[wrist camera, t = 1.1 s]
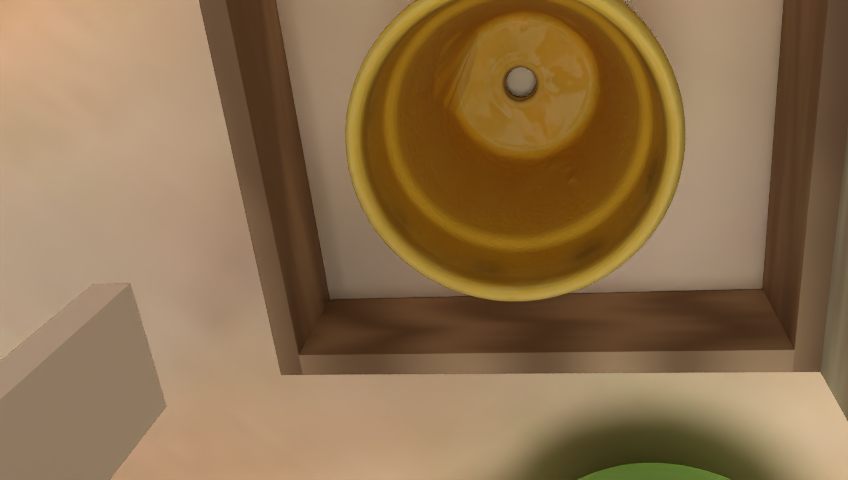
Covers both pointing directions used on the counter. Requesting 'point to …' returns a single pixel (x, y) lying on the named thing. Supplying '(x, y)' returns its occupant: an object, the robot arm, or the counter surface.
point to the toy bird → (653, 473)
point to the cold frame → (569, 313)
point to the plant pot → (515, 142)
